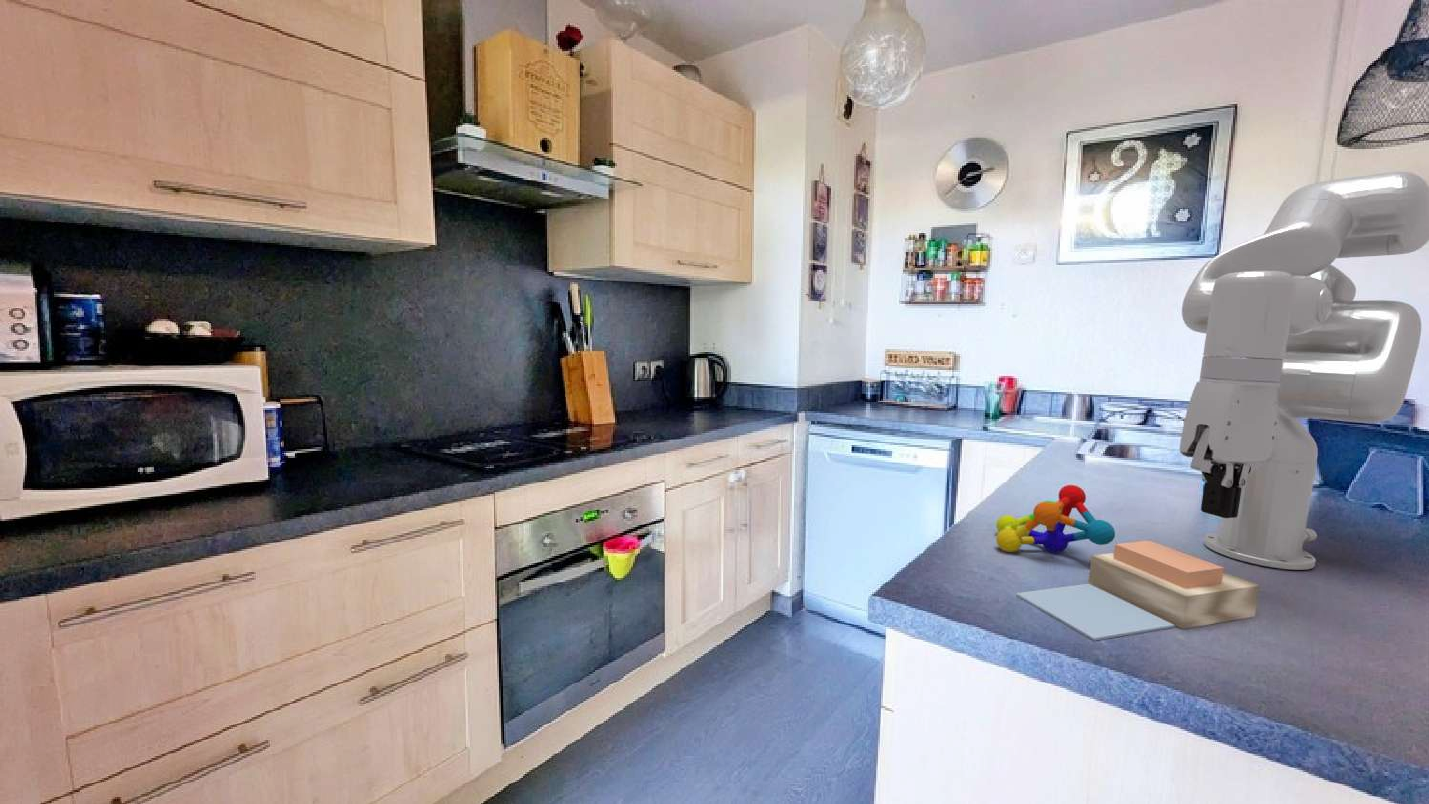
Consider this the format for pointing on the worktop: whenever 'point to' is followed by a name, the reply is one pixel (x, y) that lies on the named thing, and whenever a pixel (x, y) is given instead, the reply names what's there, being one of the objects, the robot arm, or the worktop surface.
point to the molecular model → (1054, 524)
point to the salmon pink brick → (1169, 564)
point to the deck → (1175, 594)
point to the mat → (1094, 611)
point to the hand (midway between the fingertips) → (1218, 514)
